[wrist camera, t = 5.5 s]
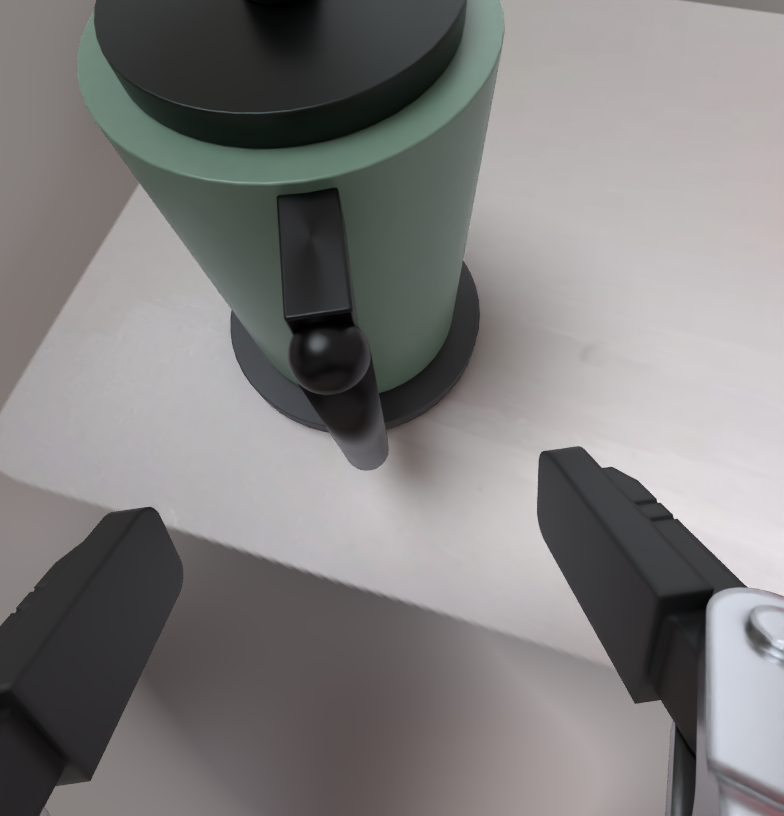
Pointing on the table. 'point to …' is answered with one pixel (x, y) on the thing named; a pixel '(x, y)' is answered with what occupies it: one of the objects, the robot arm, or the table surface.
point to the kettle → (310, 171)
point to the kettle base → (394, 403)
